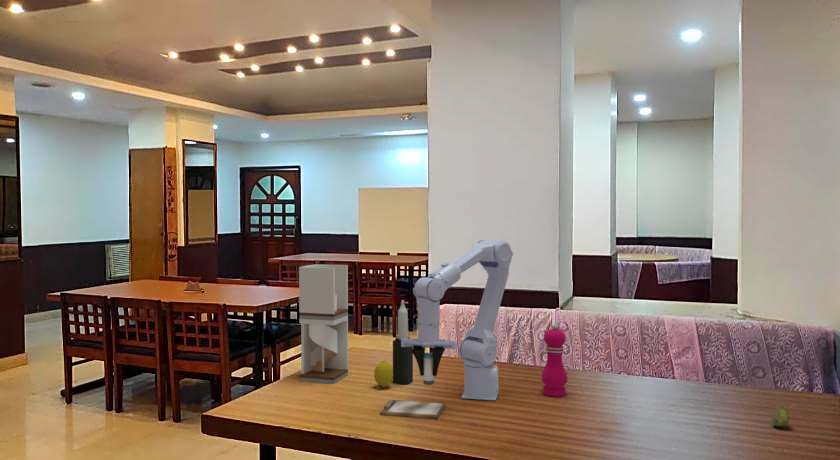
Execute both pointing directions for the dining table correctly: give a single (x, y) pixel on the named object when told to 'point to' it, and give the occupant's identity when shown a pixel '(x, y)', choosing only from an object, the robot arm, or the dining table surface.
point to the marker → (428, 369)
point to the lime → (780, 417)
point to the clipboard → (413, 409)
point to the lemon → (383, 374)
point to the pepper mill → (554, 363)
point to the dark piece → (402, 351)
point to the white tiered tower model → (323, 322)
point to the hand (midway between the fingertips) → (428, 375)
